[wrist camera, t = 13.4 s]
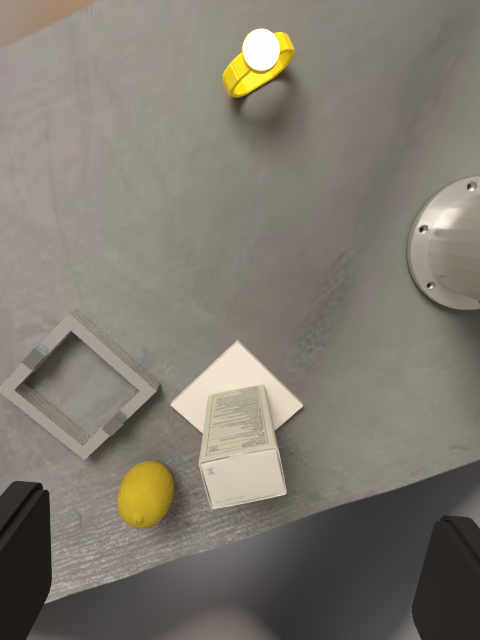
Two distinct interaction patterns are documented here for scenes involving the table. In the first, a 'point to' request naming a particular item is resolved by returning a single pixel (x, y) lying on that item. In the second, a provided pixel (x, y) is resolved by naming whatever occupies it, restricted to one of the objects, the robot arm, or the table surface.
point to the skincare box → (240, 449)
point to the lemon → (145, 494)
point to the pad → (235, 387)
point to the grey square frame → (52, 416)
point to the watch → (258, 62)
